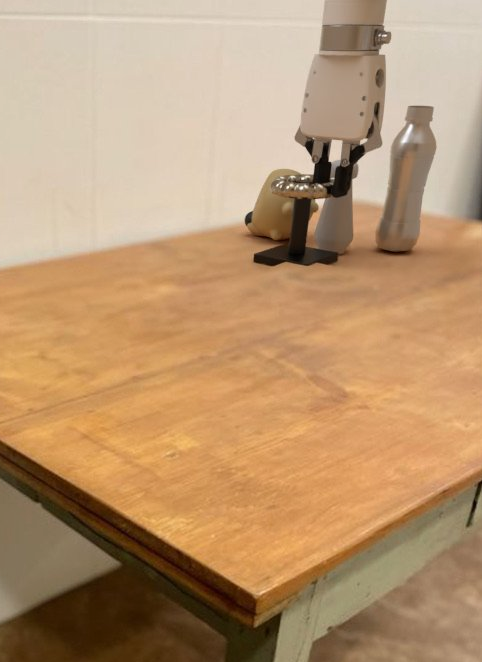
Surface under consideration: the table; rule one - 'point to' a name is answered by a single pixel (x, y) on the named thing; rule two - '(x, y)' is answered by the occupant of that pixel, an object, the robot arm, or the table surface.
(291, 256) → the stand
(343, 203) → the salt shaker
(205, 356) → the table surface
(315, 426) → the table surface
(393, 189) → the silver metal bottle
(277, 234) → the toy pig
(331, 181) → the beaded metal ring
